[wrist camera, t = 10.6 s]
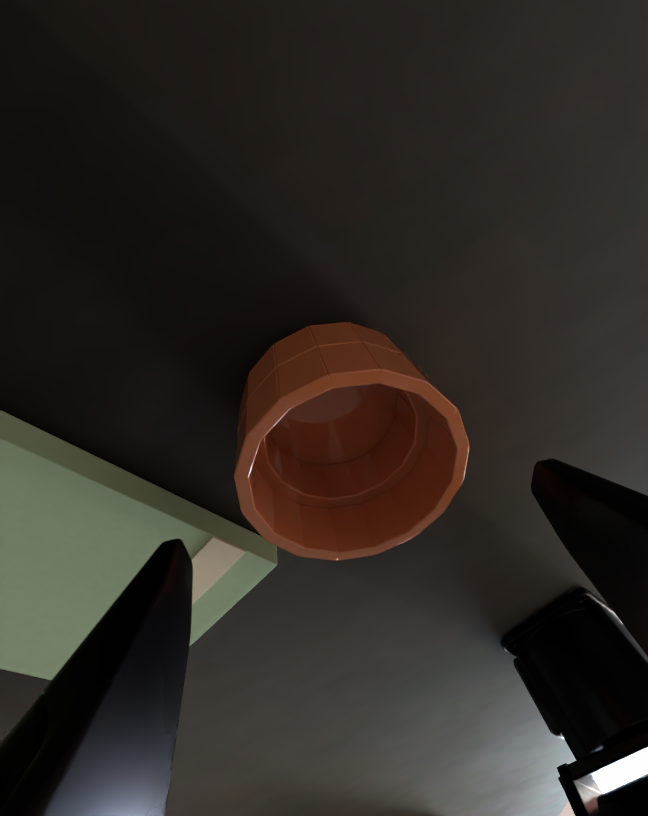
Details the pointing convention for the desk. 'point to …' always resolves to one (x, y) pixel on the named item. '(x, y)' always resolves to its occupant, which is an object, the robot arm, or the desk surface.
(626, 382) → the desk surface
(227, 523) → the towel
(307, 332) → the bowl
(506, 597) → the desk surface
